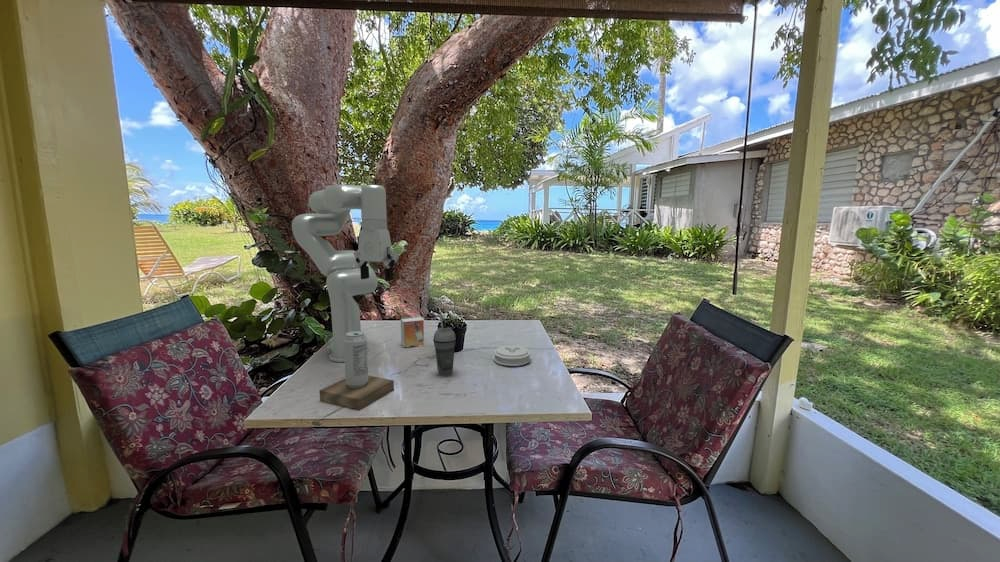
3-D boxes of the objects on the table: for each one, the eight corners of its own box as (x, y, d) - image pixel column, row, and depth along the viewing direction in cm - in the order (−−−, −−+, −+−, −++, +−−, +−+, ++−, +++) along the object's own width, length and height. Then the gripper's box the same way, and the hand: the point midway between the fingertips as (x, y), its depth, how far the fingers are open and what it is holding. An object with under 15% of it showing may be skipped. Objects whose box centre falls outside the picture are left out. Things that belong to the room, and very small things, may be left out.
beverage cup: (452, 379, 129) (451, 316, 126) (430, 377, 130) (428, 315, 127) (459, 370, 136) (458, 311, 133) (438, 369, 137) (437, 310, 134)
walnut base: (320, 400, 114) (319, 390, 113) (356, 382, 126) (356, 373, 126) (359, 410, 108) (358, 399, 107) (393, 390, 121) (393, 380, 120)
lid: (495, 355, 152) (495, 342, 151) (529, 356, 151) (529, 343, 150) (493, 368, 139) (493, 353, 138) (530, 368, 139) (531, 354, 138)
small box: (404, 348, 159) (403, 321, 158) (401, 344, 164) (400, 318, 163) (424, 345, 162) (423, 319, 161) (421, 342, 168) (420, 316, 166)
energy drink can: (360, 379, 121) (358, 329, 119) (372, 384, 117) (370, 333, 115) (341, 385, 116) (339, 333, 114) (353, 391, 113) (351, 337, 110)
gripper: (344, 225, 129) (347, 279, 132) (388, 225, 122) (391, 283, 125) (361, 225, 136) (364, 276, 138) (404, 225, 129) (406, 279, 131)
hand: (376, 279), depth 132 cm, fingers open, 9 cm apart
